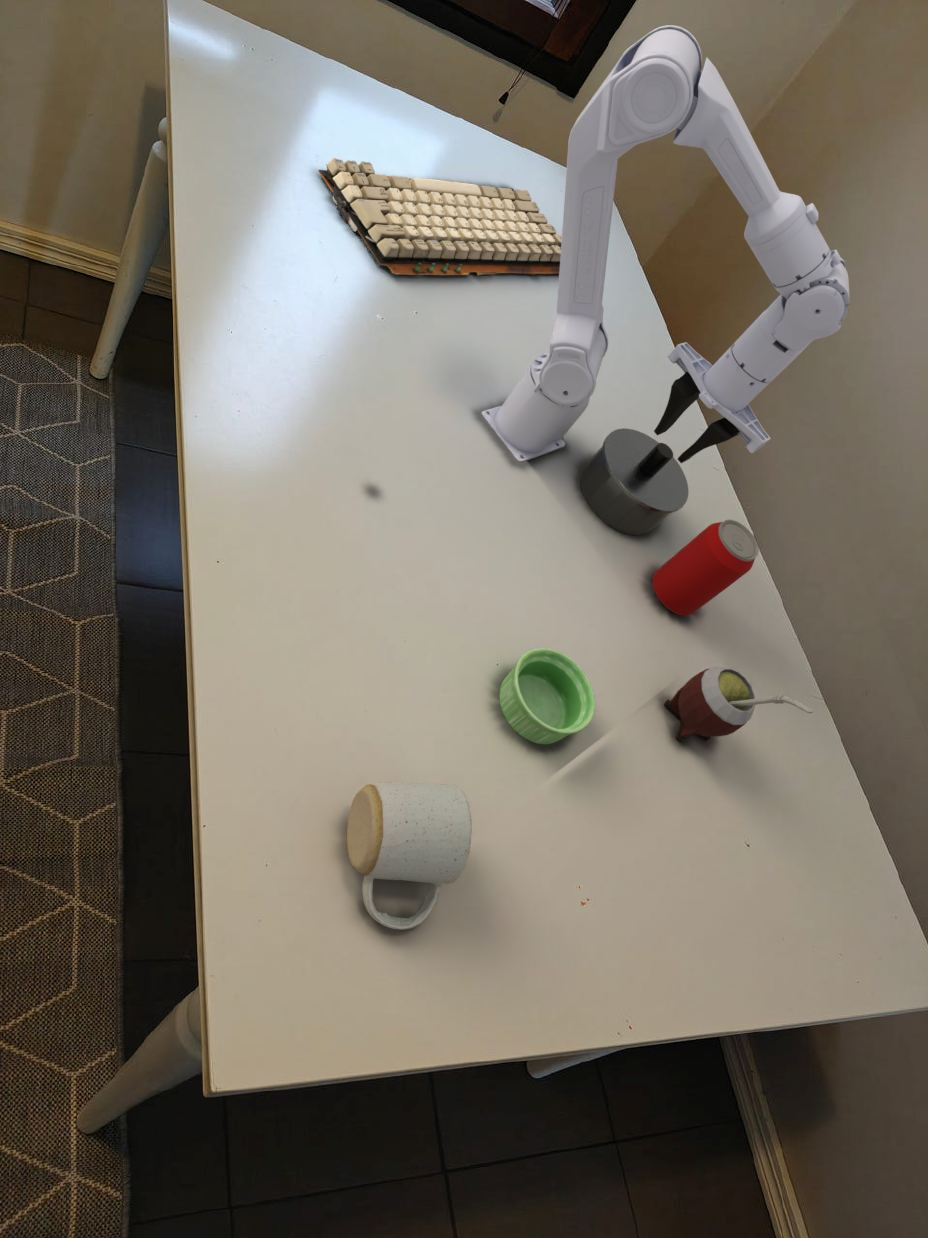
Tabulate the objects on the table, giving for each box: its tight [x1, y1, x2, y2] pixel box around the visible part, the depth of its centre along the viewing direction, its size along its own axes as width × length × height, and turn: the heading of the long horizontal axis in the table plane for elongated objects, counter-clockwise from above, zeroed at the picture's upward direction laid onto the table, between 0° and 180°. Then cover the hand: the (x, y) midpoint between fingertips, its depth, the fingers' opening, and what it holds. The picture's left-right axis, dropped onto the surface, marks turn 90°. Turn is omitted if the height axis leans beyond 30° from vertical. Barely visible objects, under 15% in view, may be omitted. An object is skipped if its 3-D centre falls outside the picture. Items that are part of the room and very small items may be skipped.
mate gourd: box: [663, 666, 814, 743], centre depth 88 cm, size 8×8×15 cm
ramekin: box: [499, 647, 596, 745], centre depth 83 cm, size 9×9×4 cm
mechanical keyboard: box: [317, 157, 562, 277], centre depth 121 cm, size 38×19×3 cm, turn 125°
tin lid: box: [601, 428, 690, 514], centre depth 103 cm, size 13×13×5 cm
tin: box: [579, 445, 671, 536], centre depth 107 cm, size 12×12×5 cm
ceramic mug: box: [346, 781, 473, 931], centre depth 66 cm, size 11×8×8 cm
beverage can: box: [652, 519, 759, 616], centre depth 99 cm, size 7×7×12 cm
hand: (671, 445), depth 101 cm, fingers open, 4 cm apart
